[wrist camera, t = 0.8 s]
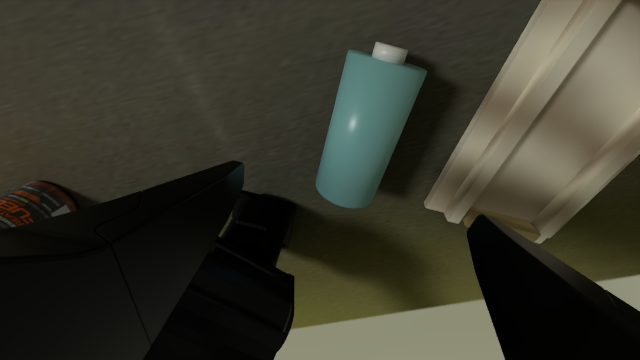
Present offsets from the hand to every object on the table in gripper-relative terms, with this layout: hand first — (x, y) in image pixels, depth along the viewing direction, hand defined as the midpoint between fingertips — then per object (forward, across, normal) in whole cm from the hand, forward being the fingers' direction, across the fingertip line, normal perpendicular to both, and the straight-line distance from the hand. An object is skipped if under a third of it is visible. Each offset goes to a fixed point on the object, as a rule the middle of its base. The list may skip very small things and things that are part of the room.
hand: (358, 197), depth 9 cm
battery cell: (+12, -1, +1) cm, 12 cm away
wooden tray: (+12, -15, -2) cm, 19 cm away
